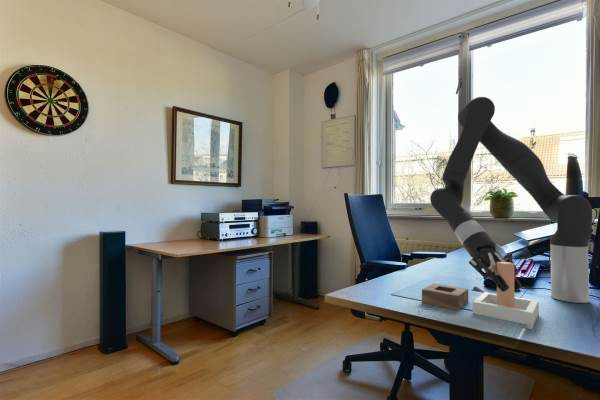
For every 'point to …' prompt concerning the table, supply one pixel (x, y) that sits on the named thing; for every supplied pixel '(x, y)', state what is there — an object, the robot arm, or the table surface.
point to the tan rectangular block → (508, 275)
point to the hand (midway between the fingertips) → (512, 289)
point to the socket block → (445, 296)
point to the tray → (508, 309)
